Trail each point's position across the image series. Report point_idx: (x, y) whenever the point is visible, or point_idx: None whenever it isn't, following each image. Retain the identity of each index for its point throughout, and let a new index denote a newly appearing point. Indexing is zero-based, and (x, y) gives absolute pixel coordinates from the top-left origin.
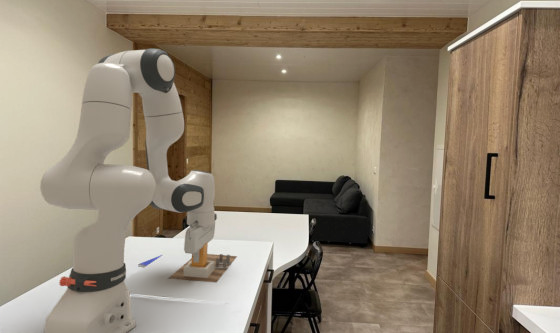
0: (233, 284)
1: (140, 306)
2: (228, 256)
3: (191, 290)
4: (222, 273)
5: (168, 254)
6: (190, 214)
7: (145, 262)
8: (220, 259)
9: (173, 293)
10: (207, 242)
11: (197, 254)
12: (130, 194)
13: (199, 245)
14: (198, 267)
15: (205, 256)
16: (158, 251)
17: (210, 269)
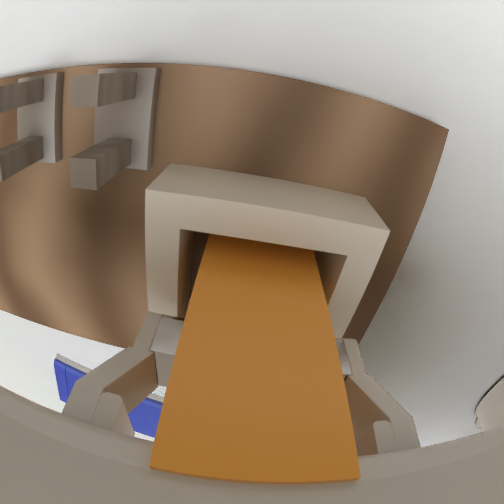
0: (406, 9)
1: (498, 358)
2: (4, 92)
3: (459, 256)
4: (257, 80)
5: (31, 376)
6: None
7: (152, 434)
8: (26, 157)
9: (461, 315)
10: (153, 466)
11: (394, 408)
12: None
13: (487, 482)
14: (341, 302)
15: (256, 321)
16: (29, 394)
17: (288, 195)
